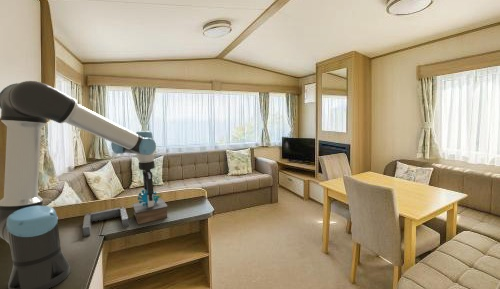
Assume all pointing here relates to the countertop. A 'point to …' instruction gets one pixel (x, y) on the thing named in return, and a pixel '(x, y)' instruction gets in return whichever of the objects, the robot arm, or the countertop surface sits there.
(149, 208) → the dark brown wooden box
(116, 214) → the cradle
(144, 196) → the blue lumpy piece
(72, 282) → the countertop surface
